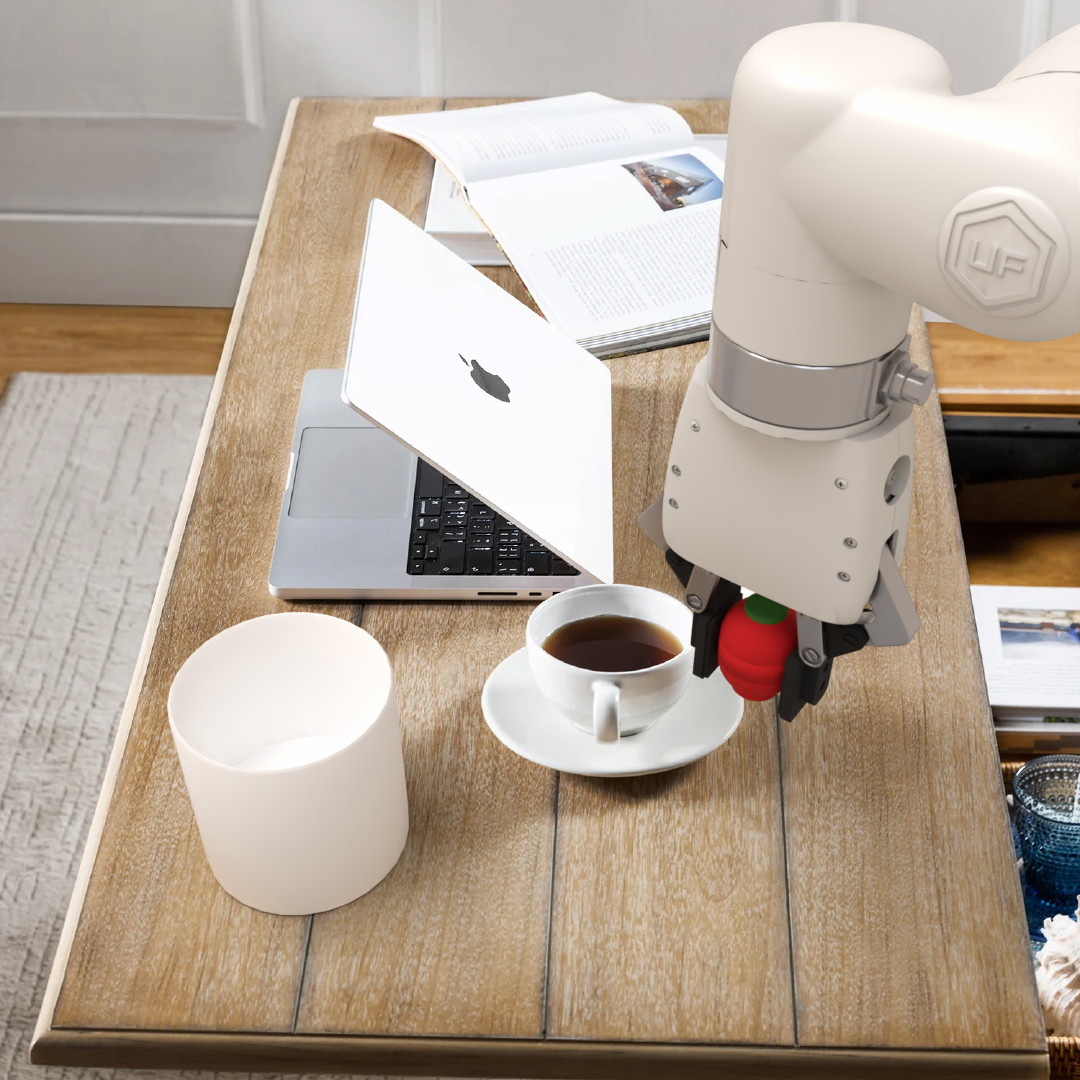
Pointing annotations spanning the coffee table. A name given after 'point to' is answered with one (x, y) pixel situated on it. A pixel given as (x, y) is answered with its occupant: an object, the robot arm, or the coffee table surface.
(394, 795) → the cup
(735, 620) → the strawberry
